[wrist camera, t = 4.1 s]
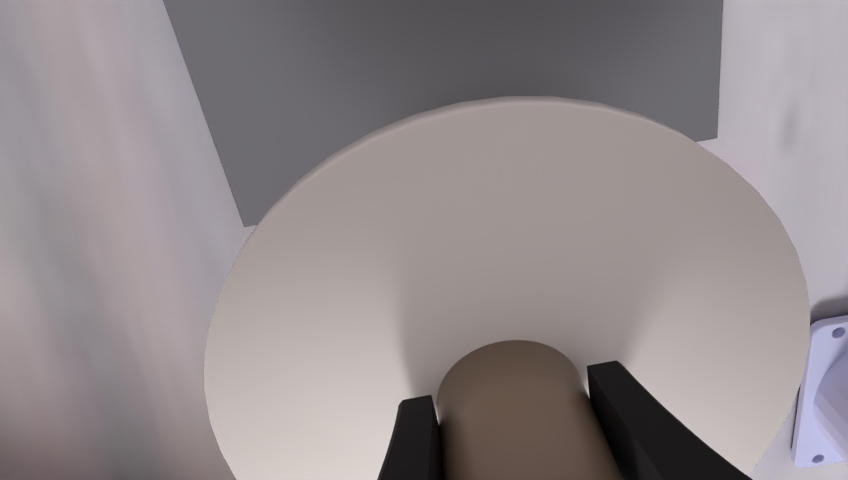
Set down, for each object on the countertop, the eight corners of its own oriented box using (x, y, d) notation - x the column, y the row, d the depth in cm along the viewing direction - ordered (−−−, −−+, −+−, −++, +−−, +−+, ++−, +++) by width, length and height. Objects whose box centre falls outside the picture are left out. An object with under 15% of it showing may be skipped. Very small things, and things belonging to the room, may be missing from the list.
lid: (820, 30, 11) (1049, 89, 7) (770, 520, 17) (881, 694, 13) (113, 170, 12) (-20, 293, 8) (303, 600, 18) (280, 789, 14)
